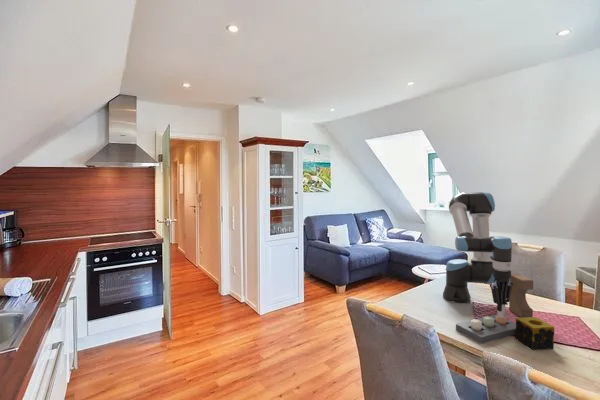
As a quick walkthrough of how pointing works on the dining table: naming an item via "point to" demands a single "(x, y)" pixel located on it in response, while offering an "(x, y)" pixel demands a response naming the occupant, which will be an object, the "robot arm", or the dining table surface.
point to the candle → (534, 333)
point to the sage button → (488, 322)
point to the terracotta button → (501, 320)
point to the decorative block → (520, 295)
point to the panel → (487, 330)
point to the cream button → (476, 325)
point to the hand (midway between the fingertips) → (501, 317)
